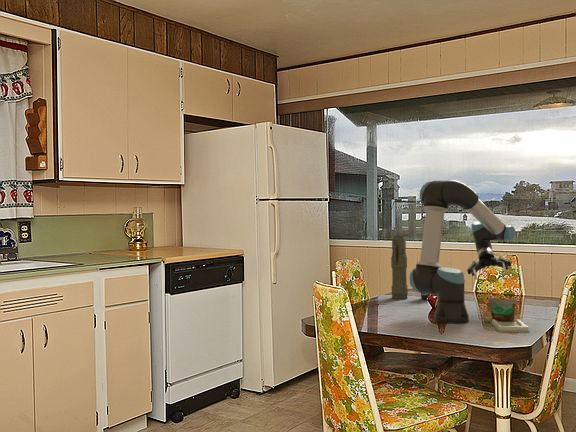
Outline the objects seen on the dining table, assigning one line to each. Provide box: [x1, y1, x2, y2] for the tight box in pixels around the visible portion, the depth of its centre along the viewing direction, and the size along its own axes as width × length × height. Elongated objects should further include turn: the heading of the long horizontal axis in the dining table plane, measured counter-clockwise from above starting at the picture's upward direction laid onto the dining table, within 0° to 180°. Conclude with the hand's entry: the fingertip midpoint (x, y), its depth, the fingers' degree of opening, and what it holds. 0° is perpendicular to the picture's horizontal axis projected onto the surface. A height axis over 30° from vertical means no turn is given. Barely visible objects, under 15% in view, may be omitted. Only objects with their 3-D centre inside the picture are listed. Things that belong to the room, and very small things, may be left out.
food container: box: [488, 297, 518, 322], centre depth 264 cm, size 12×6×10 cm, turn 62°
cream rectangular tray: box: [490, 318, 530, 333], centre depth 249 cm, size 12×16×2 cm
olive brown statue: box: [390, 235, 409, 301], centre depth 328 cm, size 9×12×35 cm
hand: (490, 274), depth 275 cm, fingers open, 13 cm apart
